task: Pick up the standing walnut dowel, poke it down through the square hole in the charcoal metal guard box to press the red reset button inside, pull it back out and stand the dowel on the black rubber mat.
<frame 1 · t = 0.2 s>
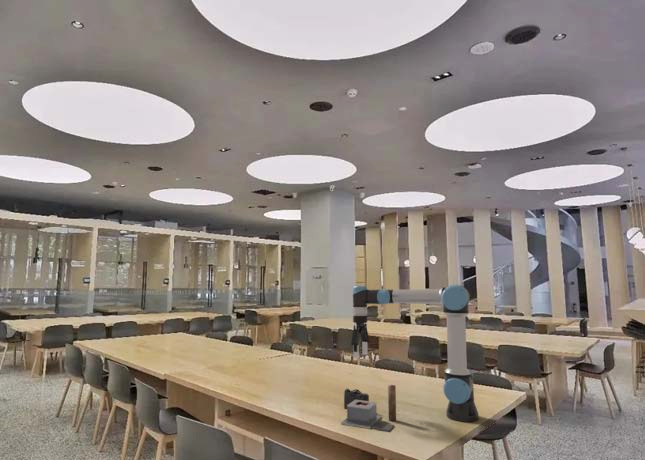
hand: (360, 356, 211), 28 cm above the table, fingers open, 13 cm apart
camera: (359, 409, 213), on the table
breaker button: (361, 410, 194), point 5 cm above the table, slide at 0.0 cm
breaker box: (362, 420, 193), on the table
rubber mat: (383, 427, 184), on the table
walnut dowel: (392, 420, 194), on the table
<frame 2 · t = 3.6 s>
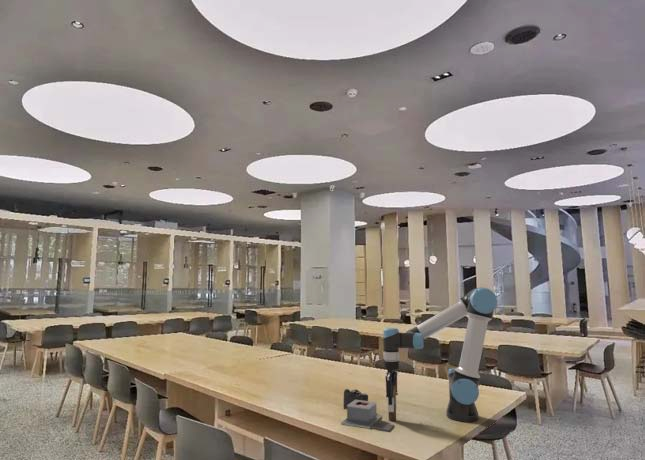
hand: (392, 410, 195), 5 cm above the table, fingers closed on walnut dowel, 3 cm apart
walnut dowel: (392, 420, 194), on the table, touching gripper
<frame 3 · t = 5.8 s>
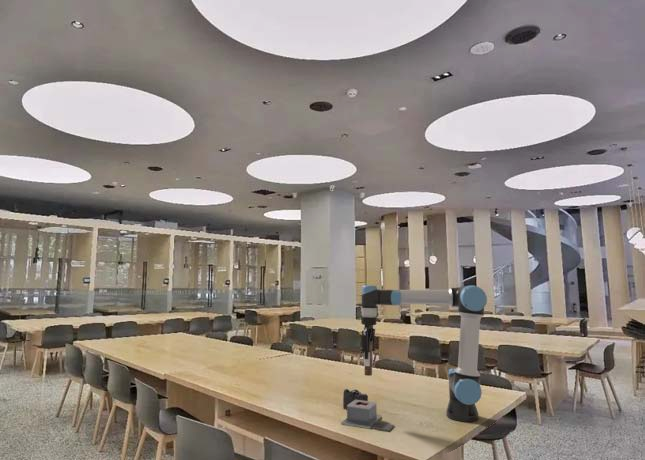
hand: (368, 365, 197), 26 cm above the table, fingers closed on walnut dowel, 3 cm apart
walnut dowel: (368, 374, 197), point 21 cm above the table, touching gripper
everything else where it was.
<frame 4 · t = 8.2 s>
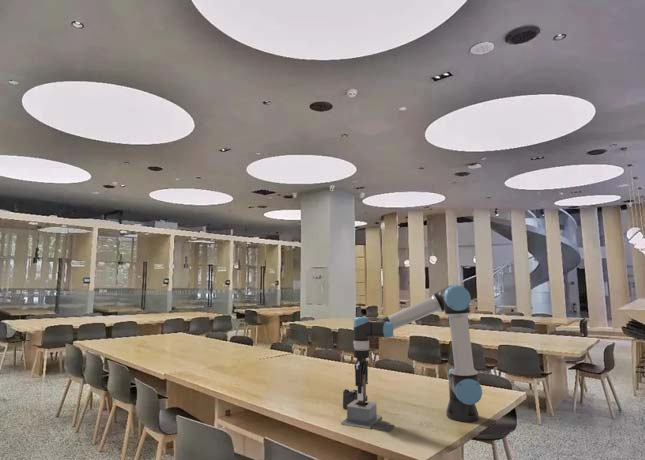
hand: (361, 399, 195), 10 cm above the table, fingers closed on walnut dowel, 3 cm apart
breaker button: (362, 413, 194), point 3 cm above the table, slide at 1.5 cm, touching walnut dowel
walnut dowel: (361, 409, 194), point 5 cm above the table, touching breaker button, gripper
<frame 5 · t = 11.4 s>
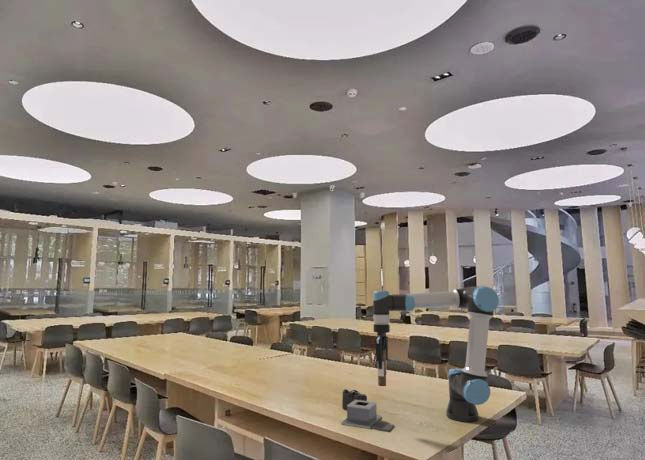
hand: (382, 375, 187), 23 cm above the table, fingers closed on walnut dowel, 3 cm apart
breaker button: (362, 413, 194), point 3 cm above the table, slide at 1.5 cm
walnut dowel: (382, 385, 186), point 18 cm above the table, touching gripper
when the fingers open (6 cm above the table, at t = 14.5 s): walnut dowel stays where it is, resting on rubber mat.
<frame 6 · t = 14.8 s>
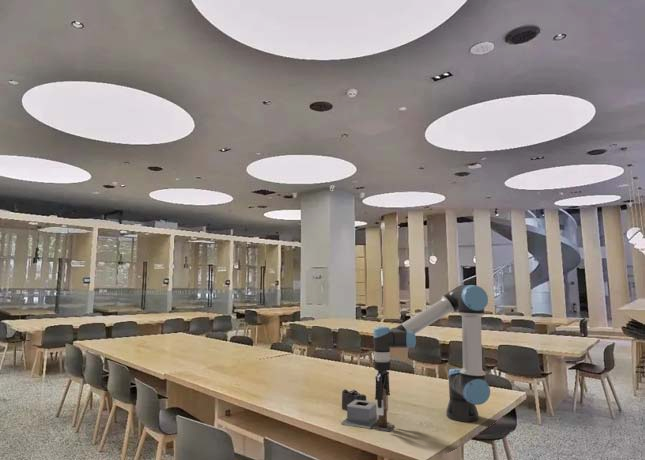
hand: (383, 412, 185), 7 cm above the table, fingers open, 7 cm apart
walnut dowel: (383, 426, 184), point 1 cm above the table, touching rubber mat
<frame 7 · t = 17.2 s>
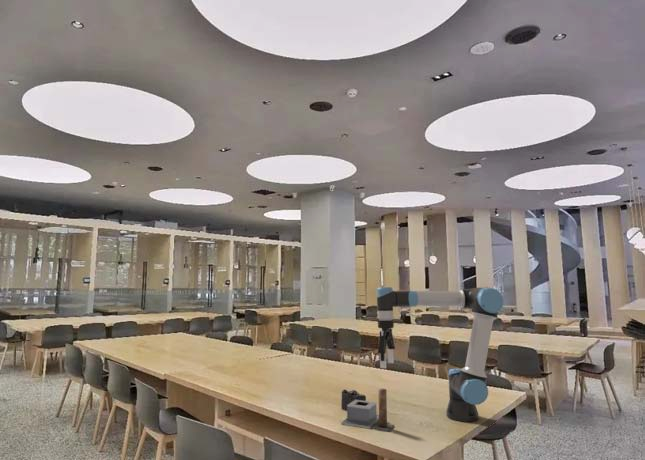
hand: (387, 365, 190), 27 cm above the table, fingers open, 13 cm apart
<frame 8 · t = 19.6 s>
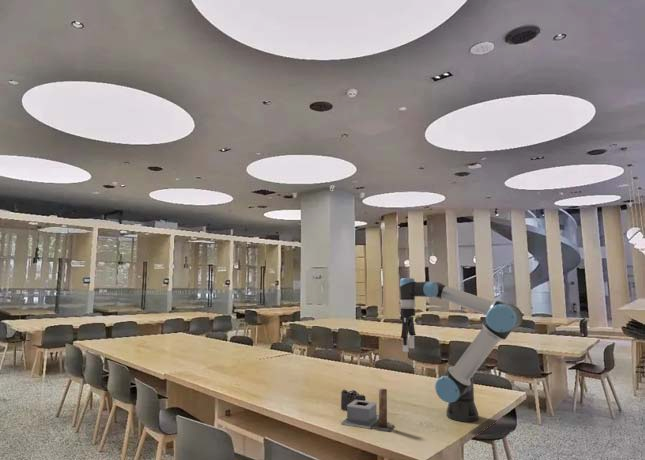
hand: (408, 350, 207), 32 cm above the table, fingers open, 13 cm apart
at the end: breaker button slide at 1.5 cm; walnut dowel inside the target area on the rubber mat (0.1 cm from its centre), point 0.6 cm above the rubber mat's base; walnut dowel tilted 1° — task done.
